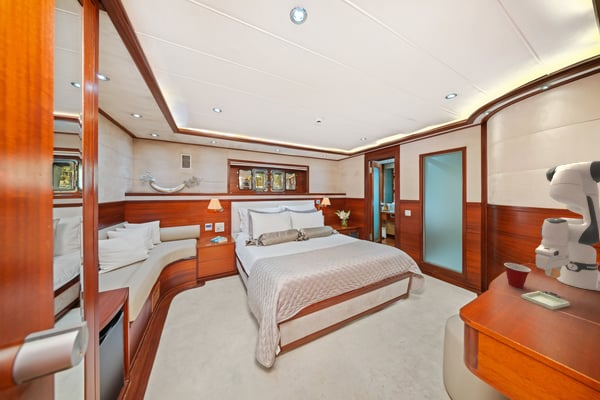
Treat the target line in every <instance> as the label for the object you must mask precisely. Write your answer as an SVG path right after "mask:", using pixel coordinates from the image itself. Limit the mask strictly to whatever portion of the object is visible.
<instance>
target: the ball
mask: <svg viewBox="0 0 600 400" xmlns="http://www.w3.org/2000/svg"><path fill="white" fill-rule="evenodd" d="M551 272H552V276H548V277H549V278H552V279H556V278H558V277H560V275H561V273H560V272H559V271H558V270H557V269H555V268H552V270H551Z"/></svg>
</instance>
